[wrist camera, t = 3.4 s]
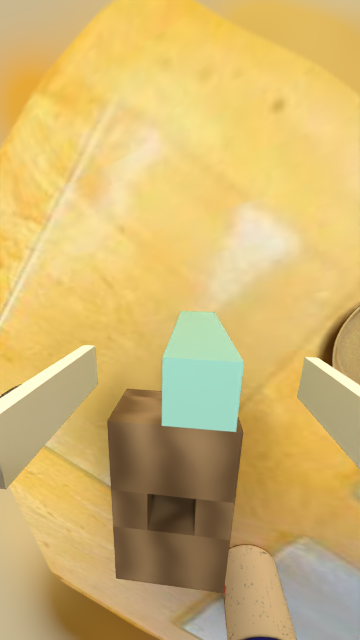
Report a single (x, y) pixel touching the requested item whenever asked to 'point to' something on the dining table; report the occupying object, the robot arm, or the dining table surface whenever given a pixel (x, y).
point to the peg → (201, 375)
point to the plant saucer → (348, 348)
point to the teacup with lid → (255, 597)
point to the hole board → (170, 496)
